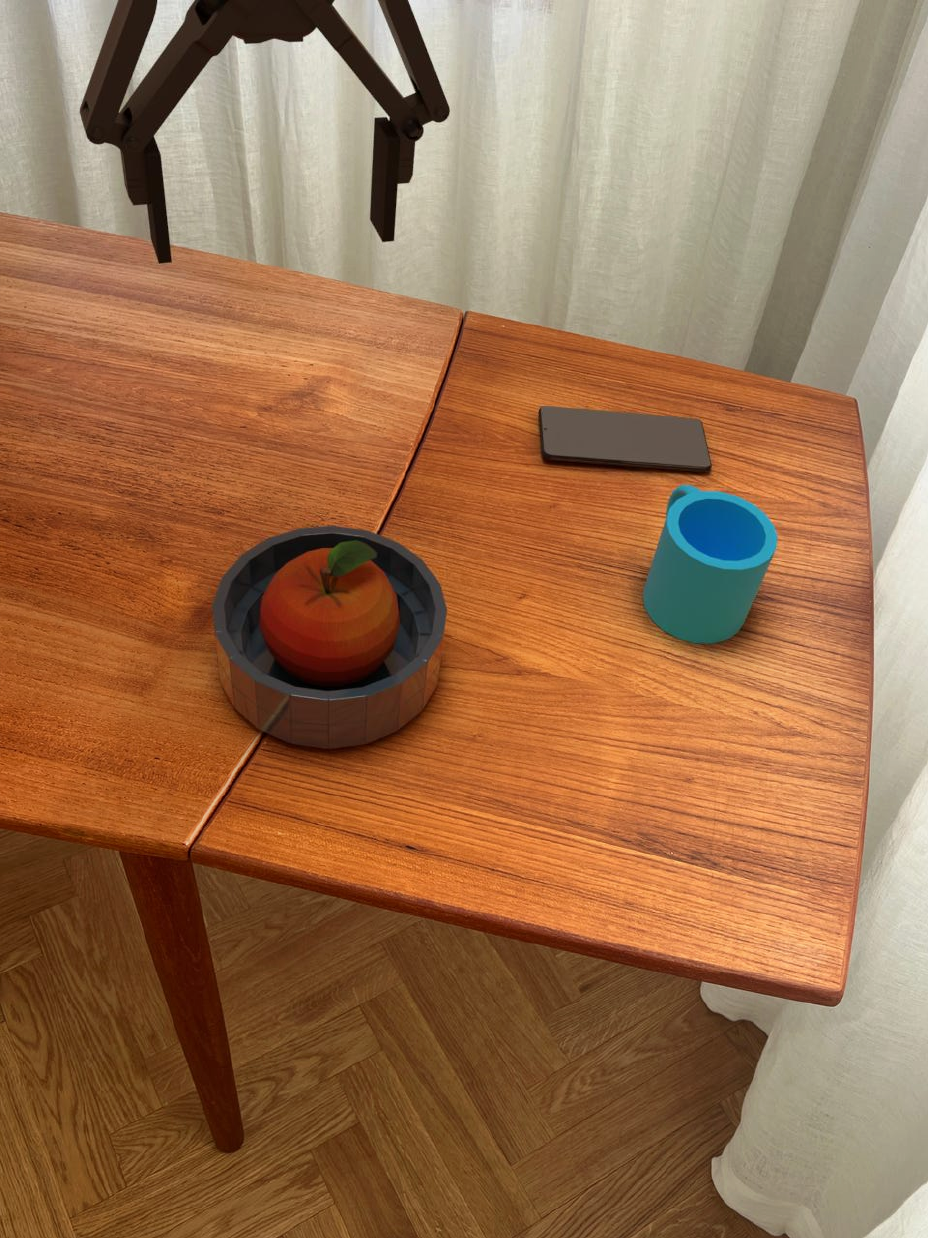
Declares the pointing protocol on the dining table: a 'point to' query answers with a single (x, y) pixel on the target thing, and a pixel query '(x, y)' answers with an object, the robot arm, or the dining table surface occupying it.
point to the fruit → (330, 615)
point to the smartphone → (623, 439)
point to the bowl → (330, 709)
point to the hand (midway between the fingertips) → (274, 240)
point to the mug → (708, 565)
